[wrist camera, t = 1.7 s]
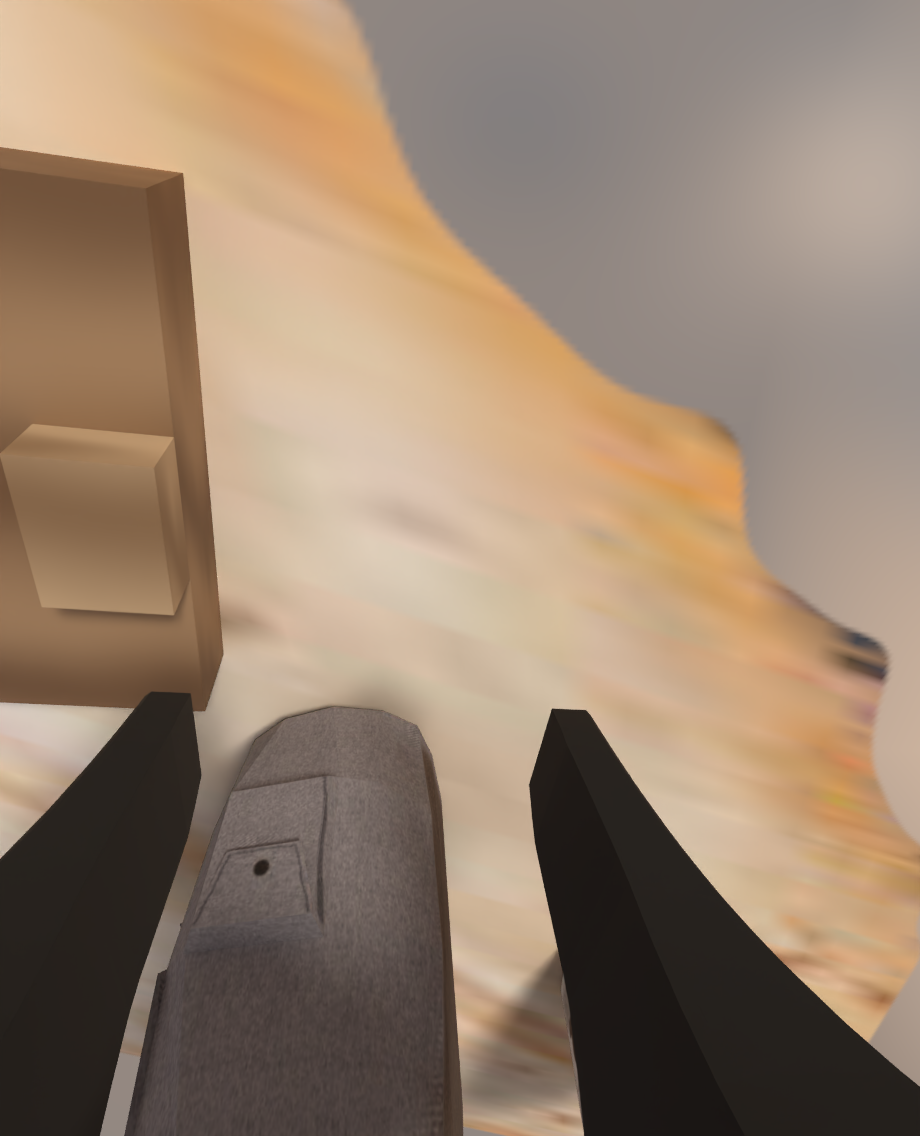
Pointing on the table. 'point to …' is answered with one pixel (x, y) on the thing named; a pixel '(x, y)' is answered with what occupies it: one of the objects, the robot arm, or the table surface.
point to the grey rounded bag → (313, 949)
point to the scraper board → (106, 375)
